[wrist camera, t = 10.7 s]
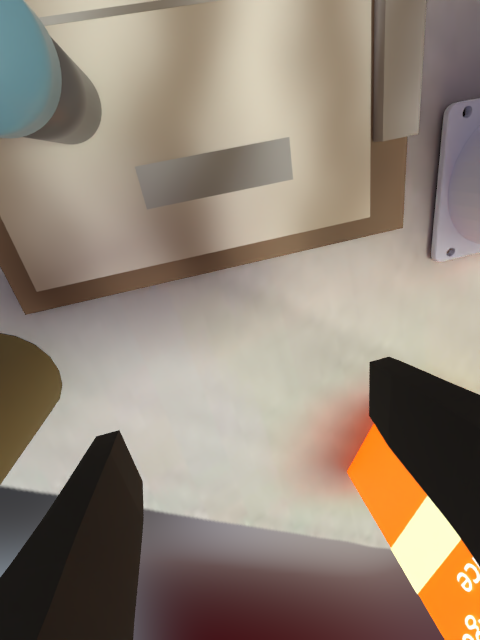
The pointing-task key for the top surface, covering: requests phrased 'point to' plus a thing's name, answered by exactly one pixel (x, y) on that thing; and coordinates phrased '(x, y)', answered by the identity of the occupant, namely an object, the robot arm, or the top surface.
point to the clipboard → (212, 140)
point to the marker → (41, 83)
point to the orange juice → (420, 539)
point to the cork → (23, 396)
